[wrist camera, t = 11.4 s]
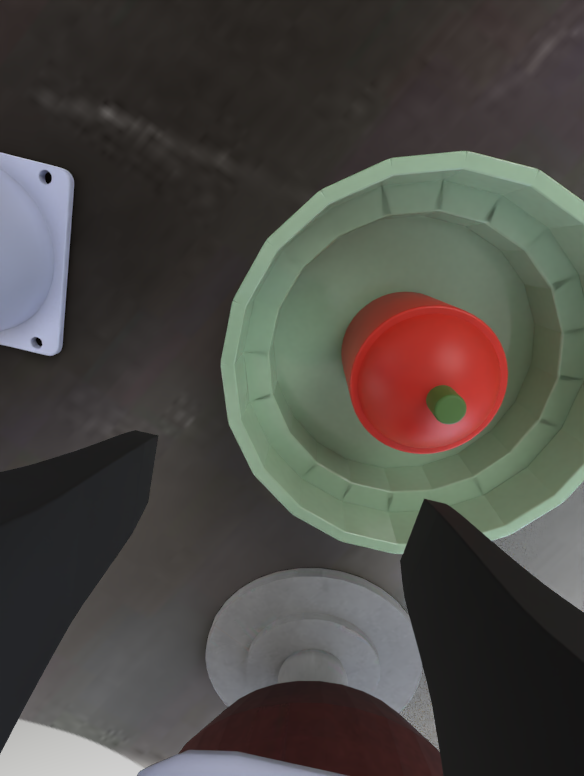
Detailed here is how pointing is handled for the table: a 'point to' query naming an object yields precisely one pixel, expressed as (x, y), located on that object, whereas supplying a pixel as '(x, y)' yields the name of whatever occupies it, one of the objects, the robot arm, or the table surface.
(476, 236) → the bowl
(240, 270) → the table surface
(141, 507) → the robot arm
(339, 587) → the mate gourd
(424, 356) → the pepper
